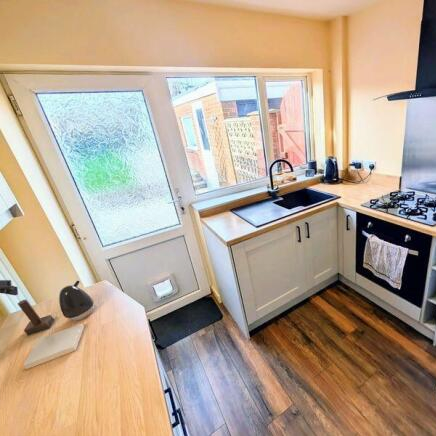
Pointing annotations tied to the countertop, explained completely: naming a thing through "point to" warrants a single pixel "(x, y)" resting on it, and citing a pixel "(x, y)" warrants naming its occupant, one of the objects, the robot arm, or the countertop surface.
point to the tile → (54, 346)
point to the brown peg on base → (34, 319)
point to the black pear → (75, 302)
